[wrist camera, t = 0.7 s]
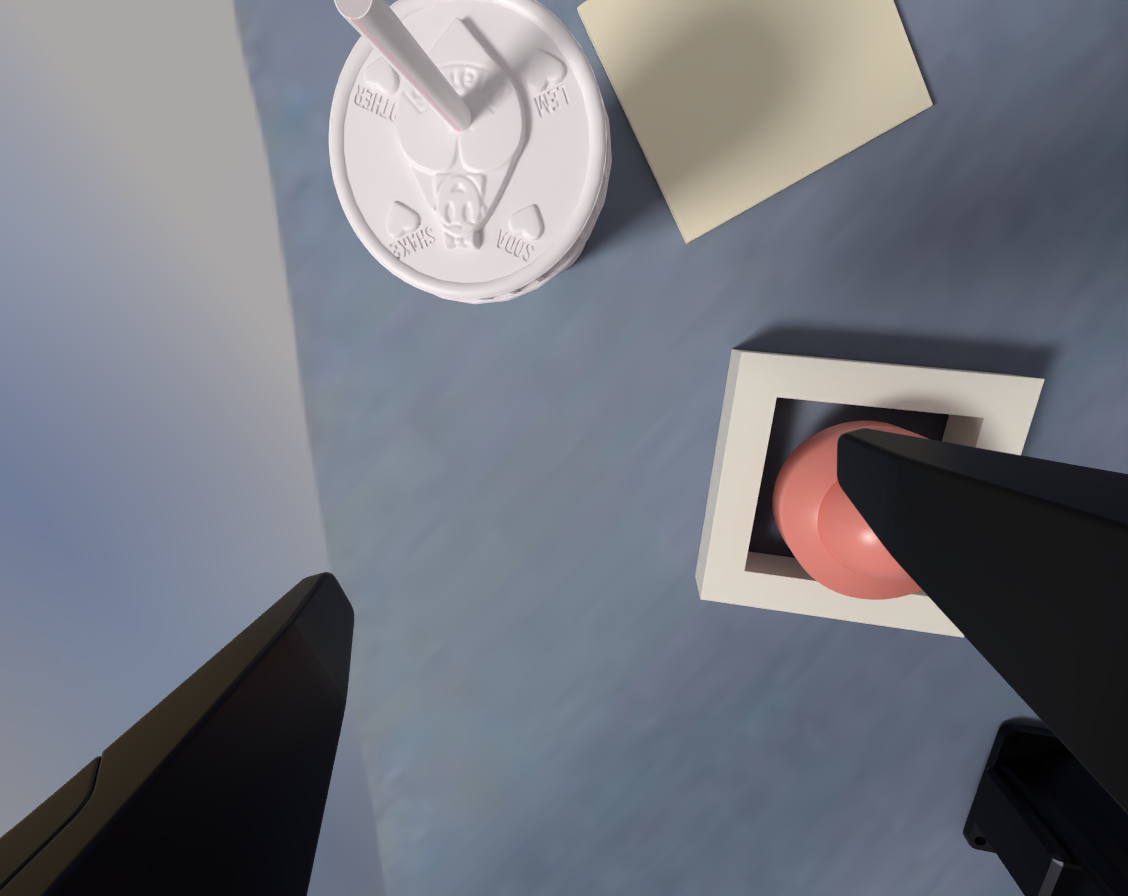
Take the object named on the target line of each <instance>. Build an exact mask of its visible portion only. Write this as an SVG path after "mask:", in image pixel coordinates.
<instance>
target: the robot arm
mask: <svg viewBox="0 0 1128 896" xmlns="http://www.w3.org/2000/svg"><path fill="white" fill-rule="evenodd" d="M837 480H838V483H839V485H840V487H841V489H842V490H843V492H844V493H845V494H846V496H847V497H848V498H849V500H850V501H851V502H852V504H853V505H854V506H855V508H856V509H857V511H858V512H859V513H860V515H861V516H862V517H863V519H864V520H865V521H866V523H867V524H868V525H869V527H870V528H871V530H872V531H873V532H874V534H875V535H876V536H877V538H878V539H879V540H880V542H881V543H882V545H883V546H884V547H885V548H886V550H887V551H888V552H889V553H890V555H891V556H892V557H893V558H894V559H895V560H896V562H897V563H898V564H899V565H900V566H901V567H902V568H903V569H904V571H905V572H906V573H907V574H908V575H909V576H910V577H911V578H912V579H913V580H914V581H915V583H916V584H917V585H918V586H919V587H920V588H921V589H922V590H923V591H924V592H925V593H926V595H927V596H928V597H929V598H930V599H931V600H932V601H933V602H934V603H935V604H936V605H937V607H938V608H939V609H940V610H941V611H942V612H943V613H944V614H945V615H946V616H947V617H948V619H949V620H950V621H951V622H952V623H953V624H954V625H955V626H956V627H957V628H958V629H959V630H960V632H961V633H962V634H963V635H964V636H965V637H966V638H967V639H968V640H969V641H970V642H971V644H972V645H973V646H974V647H975V648H976V649H977V650H978V651H979V652H980V653H981V654H982V656H983V657H984V658H985V659H986V660H987V661H988V662H989V663H990V664H991V665H992V666H993V668H994V669H995V670H996V671H997V672H998V673H999V674H1000V675H1001V676H1002V677H1003V678H1004V680H1005V681H1006V682H1007V683H1008V684H1009V685H1010V686H1011V687H1012V688H1013V689H1014V690H1015V692H1016V693H1017V694H1018V695H1019V696H1020V697H1021V698H1022V699H1023V700H1024V701H1025V702H1026V704H1027V705H1028V706H1029V707H1030V708H1031V709H1032V710H1033V711H1034V712H1035V713H1036V714H1037V715H1038V717H1039V718H1040V719H1041V720H1042V721H1043V722H1044V723H1045V724H1046V725H1047V726H1048V727H1049V729H1050V730H1045V729H1039V728H1033V727H1027V726H1020V725H1014V724H1008V725H1005V726H1003V727H1001V728H1000V729H999V731H998V733H997V736H996V739H995V742H994V744H993V747H992V750H991V753H990V756H989V759H988V761H987V764H986V767H985V770H984V773H983V776H982V779H981V781H980V784H979V787H978V790H977V793H976V796H975V799H974V801H973V804H972V807H971V810H970V813H969V816H968V818H967V821H966V824H965V827H964V830H963V835H964V837H965V838H966V840H967V842H968V843H969V845H970V846H971V847H972V848H975V849H977V850H983V851H988V852H993V853H996V854H997V855H998V857H999V858H1000V860H1001V861H1002V863H1003V864H1004V865H1005V867H1006V868H1007V870H1008V871H1009V873H1010V874H1011V876H1012V877H1013V879H1014V880H1015V882H1016V883H1017V885H1018V886H1019V888H1020V889H1021V891H1022V892H1023V894H1024V895H1025V896H1128V474H1123V473H1118V472H1112V471H1106V470H1101V469H1095V468H1089V467H1084V466H1078V465H1072V464H1067V463H1061V462H1055V461H1050V460H1044V459H1038V458H1033V457H1027V456H1021V455H1016V454H1010V453H1004V452H999V451H993V450H987V449H982V448H976V447H970V446H965V445H959V444H953V443H948V442H942V441H936V440H931V439H925V438H919V437H914V436H908V435H902V434H897V433H891V432H886V431H880V430H874V429H869V428H861V429H857V430H853V431H850V432H846V433H843V434H841V435H840V436H839V438H838V441H837ZM353 628H354V612H353V608H352V605H351V603H350V602H349V600H348V598H347V597H346V595H345V593H344V591H343V590H342V588H341V586H340V584H339V583H338V581H337V579H336V578H335V576H334V575H333V574H331V573H329V572H324V573H320V574H317V575H313V576H309V577H306V578H304V579H303V580H302V581H300V582H299V583H298V584H297V585H296V586H295V587H293V589H291V590H290V591H289V592H288V593H286V594H285V595H284V596H283V597H282V598H281V599H279V600H278V601H277V602H276V603H275V604H274V605H272V606H271V607H270V608H269V609H268V610H267V611H265V613H263V614H262V615H261V616H260V617H259V618H258V619H256V620H255V621H254V622H253V623H252V624H250V625H249V626H248V627H247V628H246V629H245V630H243V631H242V632H241V633H240V634H239V635H238V636H237V637H235V638H234V639H233V640H232V641H231V642H230V643H228V644H227V645H226V646H225V647H224V648H223V649H221V650H220V651H219V652H218V653H217V654H216V655H215V656H213V657H212V658H211V659H210V660H209V661H207V662H206V663H205V664H204V665H203V666H202V667H201V668H199V669H198V670H197V671H196V672H195V673H194V674H192V676H190V677H189V678H188V679H187V680H185V681H184V682H183V683H182V684H181V685H180V686H179V687H177V688H176V689H175V690H174V691H173V692H171V693H170V694H169V695H168V696H167V697H166V698H165V699H163V700H162V701H161V702H160V703H159V704H158V705H156V706H155V707H154V708H153V709H152V710H151V711H150V712H148V713H147V714H146V715H145V716H144V717H142V718H141V719H140V720H139V721H138V722H137V723H135V724H134V725H133V726H132V727H131V728H130V729H129V730H127V731H126V732H125V733H124V734H123V735H122V736H120V737H119V738H118V739H117V740H116V741H115V742H114V743H112V744H111V745H110V746H109V747H108V748H106V749H105V750H104V751H103V753H102V756H99V757H96V758H95V759H93V760H92V761H91V762H90V763H89V764H88V765H86V766H85V767H84V768H83V769H82V770H81V771H80V772H78V773H77V774H76V775H75V776H74V777H73V778H71V779H70V780H69V781H68V782H67V783H66V784H64V785H63V786H62V787H61V788H60V789H58V790H57V791H56V792H55V793H54V794H53V795H51V796H50V797H49V798H48V799H47V800H45V801H44V802H43V803H42V804H41V805H40V806H38V807H37V808H36V809H35V810H34V811H32V812H31V813H30V814H29V815H28V816H26V817H25V818H24V819H23V820H22V821H21V822H20V823H18V824H17V825H16V826H14V827H13V828H12V829H11V830H9V831H8V832H7V833H6V834H4V835H3V836H2V837H1V838H0V896H307V892H308V887H309V882H310V877H311V872H312V868H313V863H314V858H315V853H316V848H317V843H318V838H319V834H320V829H321V823H322V819H323V813H324V809H325V804H326V799H327V795H328V790H329V785H330V780H331V775H332V770H333V765H334V760H335V756H336V751H337V745H338V741H339V736H340V731H341V726H342V721H343V716H344V711H345V705H346V698H347V691H348V682H349V671H350V660H351V649H352V638H353ZM1015 736H1016V737H1015ZM1012 737H1015V738H1013V739H1011V738H1012Z"/></svg>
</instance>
